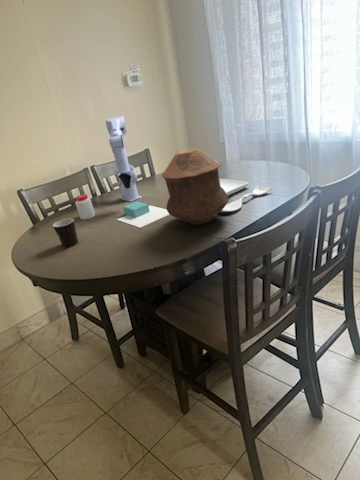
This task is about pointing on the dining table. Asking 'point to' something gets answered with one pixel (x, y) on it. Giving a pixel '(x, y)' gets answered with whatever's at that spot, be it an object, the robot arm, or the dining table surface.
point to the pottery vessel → (194, 187)
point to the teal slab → (136, 209)
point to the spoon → (238, 203)
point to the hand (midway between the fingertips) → (128, 188)
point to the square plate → (232, 185)
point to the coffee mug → (66, 232)
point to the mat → (145, 217)
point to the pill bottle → (84, 207)
